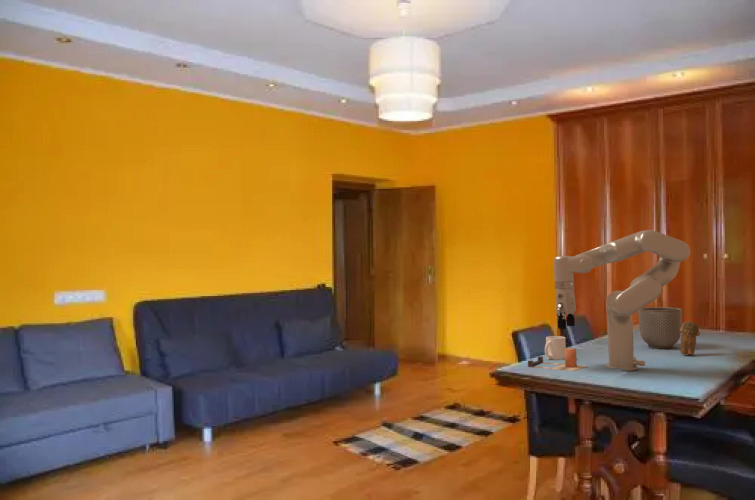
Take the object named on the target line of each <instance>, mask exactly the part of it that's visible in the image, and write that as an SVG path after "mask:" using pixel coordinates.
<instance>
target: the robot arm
mask: <svg viewBox="0 0 755 500" xmlns="http://www.w3.org/2000/svg"><path fill="white" fill-rule="evenodd" d="M646 252H650V253H653V254H655V255H657V256H659V258H658V261H657V263H656V264H655V265H653V266H652V267H651V268H649V269H648V270H646V271H645V272H643V273H642V274H640V275H639V276H637V277H635V278H634V279H633V280H632V281H631V282H630V284H629V287H627V288H626V289H624V290H613V291H611V292H610V293H609V294H608V295H607V296H606V300H605V310H606V319H607V320H606V321H607V343H608V346H607V347H608V363H607V364H605V365H604V366H605V367H608V368H612V369H613V368H615V369H623V370H622V371H621V372H628V371H629V372H630V371H631V372H633V371H637V370H639V367H641V366H642V367H646V361H645V360H638V359H637V357H636V356H635V355H634V354H635V353H634V352H635V351H634V324H633V315H634V314H636V313H638V311H639V310H640V309H642V308H646V307H647V306H648V305H650V304H651V303H653V302H654V301H656V300H657V299H658V298H659V296H661V293H662V288H663V287H665V286H666V285H667V284H669V283H670V282H671V281H672V280H673V279H674V278H675V277H676V276H677V275H678V272H679V269H680V266H681V262H684V261H686V260H687V259H688V258H689V256H690V255H691V249H690V246H689V245H688V244H687V243H686V241H683V240H681V239H678V238H675V237H673V236H669V235H666V234H664V233H661V232H659V231H656V230H653V229H646V230H640V231H638V232H635V233H632V234H629V235H626V236H624V237H621V238H618V239H615V240H613V241H609V242H608V243H605V244H603V245H600V246H598V247H596V248H595V247H594V248H593V249H590V250H587V251H584V252H581V253H579V254H576V255H574V256H570V255H560V256H559V255H557V256H555V257H554V258H553V269H554V270H553V271H554V274H553V275H554V290H555V291H556V295H555V296H556V297H555V298H556V299H555V303H556V304H555V305H556V309H555V310H556V317H557V318H556V319H557V328H558V330H566V329H567V327H575V326H576V325H575V324H576V323H575V320H576V319H575V312H576V311H577V307H576V306H577V305H576V296H575V292H574V291H575V280H574V279H575V277H574V273H577V274H578V273H579V274H587V273H589V272H591V271H592V270H593V269H594V268H596V267H599V266H604V265H607V264H612V263H613V264H614V263H618V262H621V261H624V260H627V259H629V258H632V257H635V256H637V255H641V254H643V253H646Z"/></svg>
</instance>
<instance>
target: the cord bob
mask: <svg viewBox="0 0 755 500" xmlns="http://www.w3.org/2000/svg"><path fill="white" fill-rule="evenodd" d="M577 363H578V362H577V349H576V348H573V347H572V348H570V347H569V348H568V347H566V349H565V359H564V364H565V367H577V365H578V364H577Z"/></svg>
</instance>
